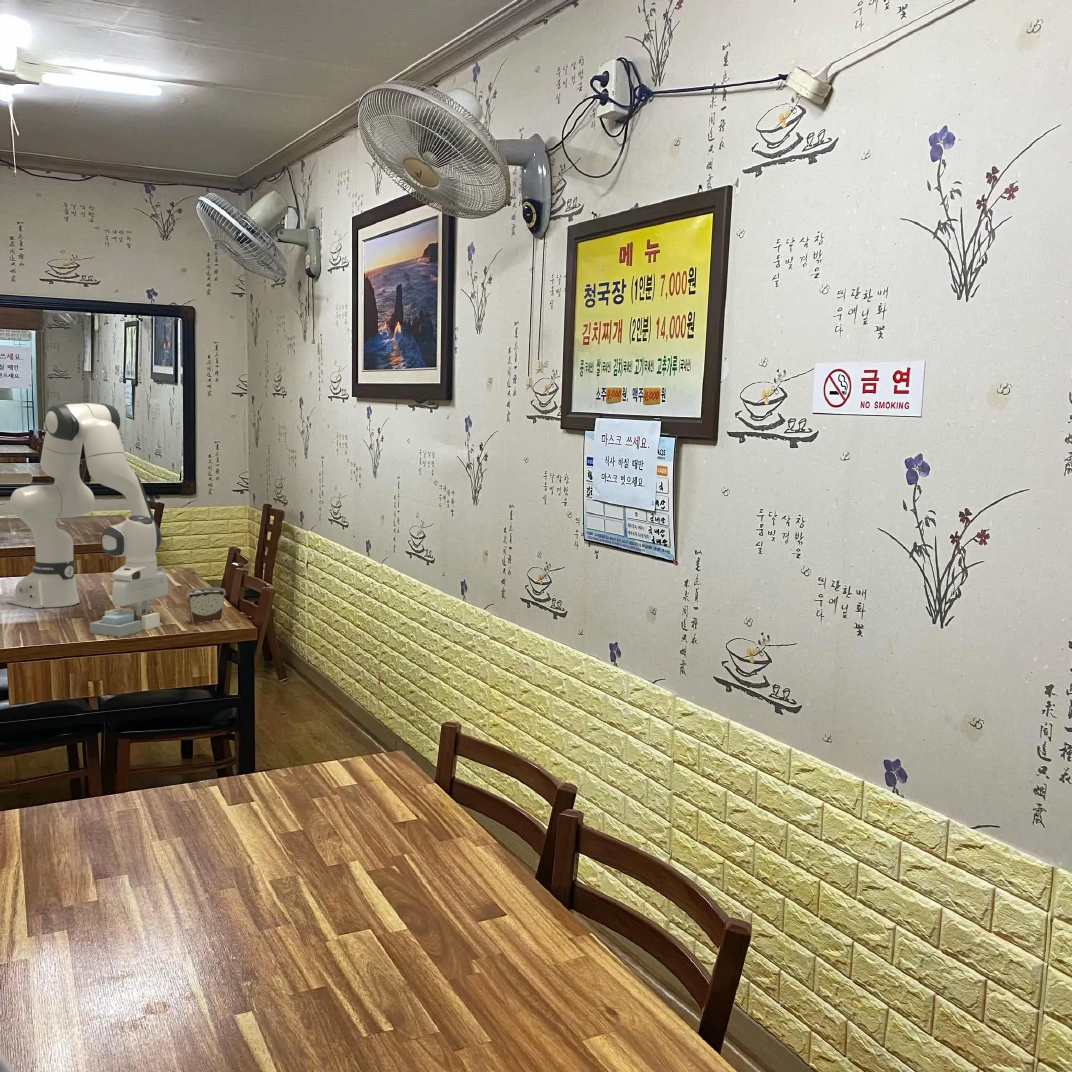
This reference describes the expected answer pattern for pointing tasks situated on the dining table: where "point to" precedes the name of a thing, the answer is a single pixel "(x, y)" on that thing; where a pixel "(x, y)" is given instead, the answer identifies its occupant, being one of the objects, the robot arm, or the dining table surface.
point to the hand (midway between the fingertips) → (141, 615)
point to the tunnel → (147, 620)
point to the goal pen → (115, 628)
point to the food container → (206, 604)
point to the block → (117, 618)
